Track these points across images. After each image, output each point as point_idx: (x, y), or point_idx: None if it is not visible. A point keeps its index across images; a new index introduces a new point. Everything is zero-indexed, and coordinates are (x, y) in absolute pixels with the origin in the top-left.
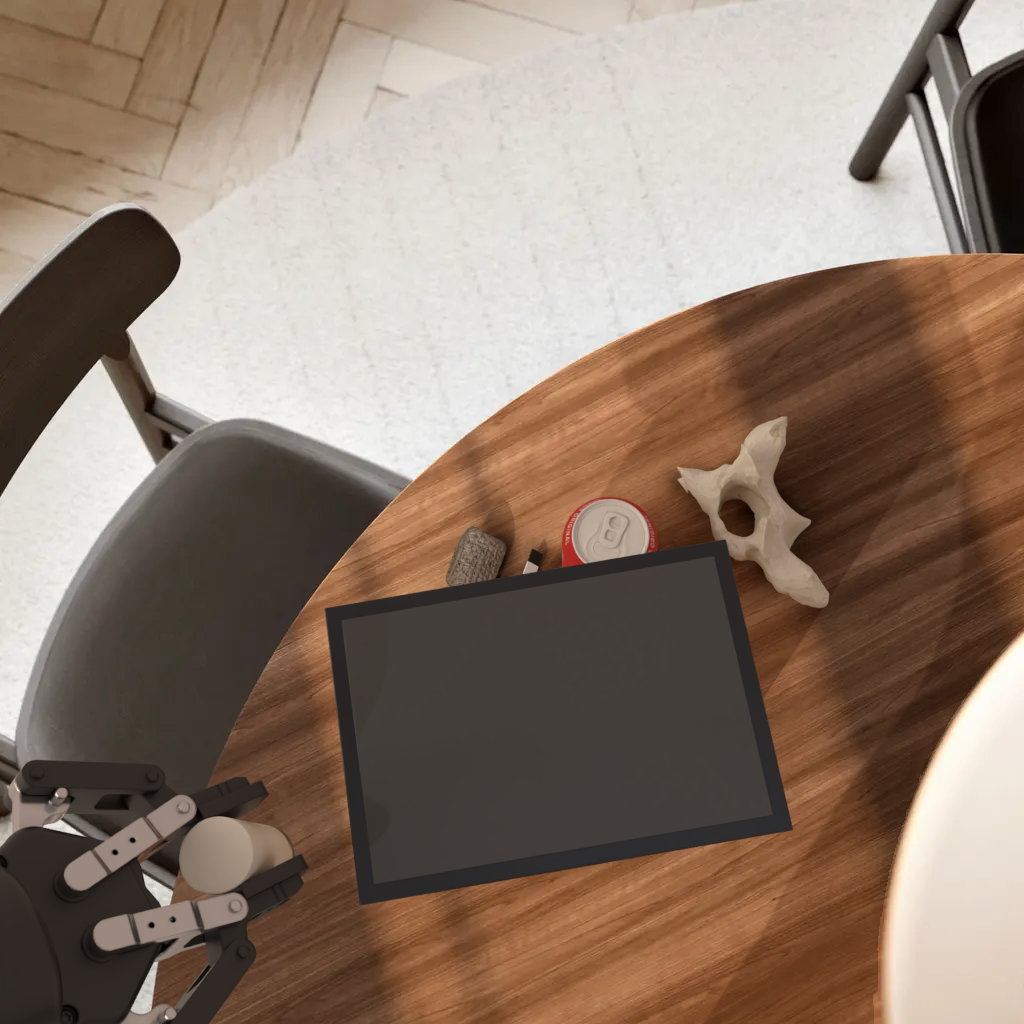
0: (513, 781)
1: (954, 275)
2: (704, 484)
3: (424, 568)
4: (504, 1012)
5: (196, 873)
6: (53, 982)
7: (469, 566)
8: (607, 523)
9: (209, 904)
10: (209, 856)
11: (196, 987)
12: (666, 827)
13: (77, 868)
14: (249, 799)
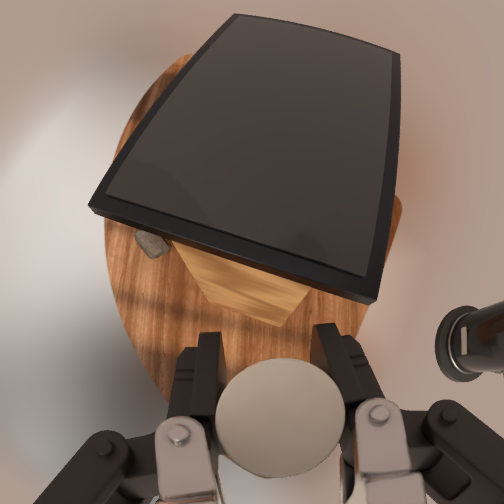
0: (324, 130)
1: (177, 63)
2: None
3: (139, 269)
4: (355, 336)
5: (293, 458)
6: None
7: (150, 243)
8: None
9: (368, 452)
10: (278, 431)
11: (486, 484)
12: (387, 83)
13: None
14: (217, 350)
